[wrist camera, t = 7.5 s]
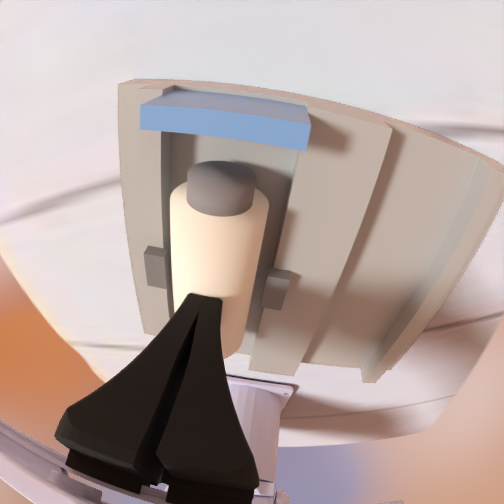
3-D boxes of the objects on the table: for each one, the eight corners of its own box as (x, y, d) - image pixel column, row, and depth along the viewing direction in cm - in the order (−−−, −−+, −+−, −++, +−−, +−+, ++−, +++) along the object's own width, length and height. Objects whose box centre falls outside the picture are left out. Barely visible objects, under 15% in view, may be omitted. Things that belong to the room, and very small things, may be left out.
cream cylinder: (246, 325, 18) (235, 376, 15) (187, 312, 18) (168, 360, 15) (277, 164, 12) (267, 208, 9) (189, 150, 12) (153, 188, 9)
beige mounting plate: (387, 353, 21) (395, 405, 18) (151, 317, 21) (130, 368, 18) (498, 162, 11) (549, 206, 8) (134, 79, 11) (74, 99, 8)
